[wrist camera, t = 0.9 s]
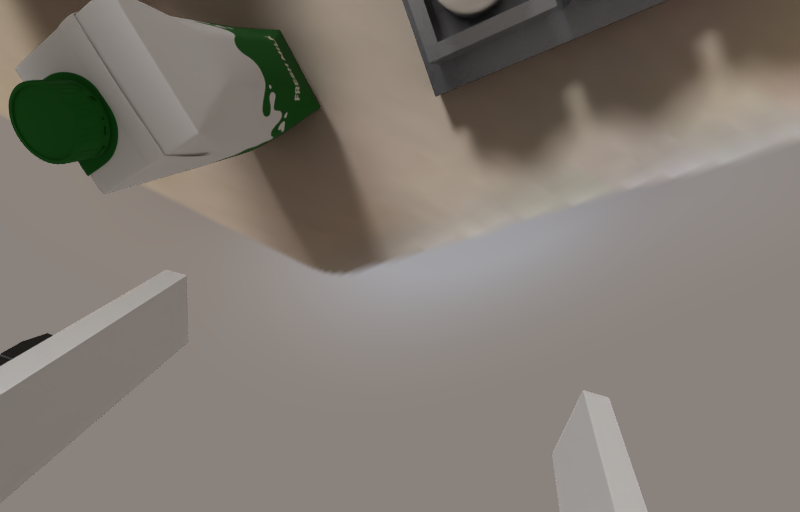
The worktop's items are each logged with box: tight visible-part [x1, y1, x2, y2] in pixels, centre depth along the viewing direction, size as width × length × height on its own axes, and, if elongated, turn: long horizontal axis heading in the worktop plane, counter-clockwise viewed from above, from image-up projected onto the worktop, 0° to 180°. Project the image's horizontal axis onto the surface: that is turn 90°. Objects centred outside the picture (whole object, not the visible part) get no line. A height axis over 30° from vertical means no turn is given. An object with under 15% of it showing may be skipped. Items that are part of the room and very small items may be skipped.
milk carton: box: [9, 0, 320, 194], centre depth 29 cm, size 9×9×20 cm
